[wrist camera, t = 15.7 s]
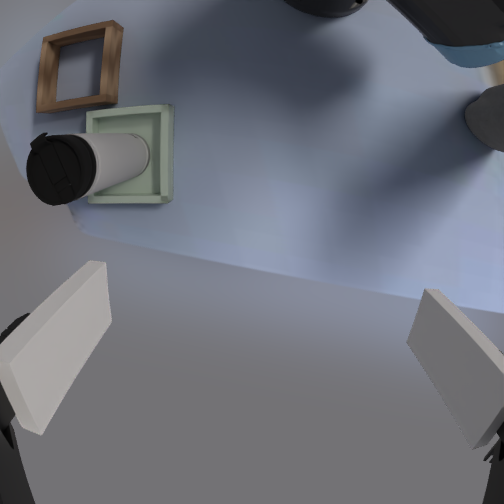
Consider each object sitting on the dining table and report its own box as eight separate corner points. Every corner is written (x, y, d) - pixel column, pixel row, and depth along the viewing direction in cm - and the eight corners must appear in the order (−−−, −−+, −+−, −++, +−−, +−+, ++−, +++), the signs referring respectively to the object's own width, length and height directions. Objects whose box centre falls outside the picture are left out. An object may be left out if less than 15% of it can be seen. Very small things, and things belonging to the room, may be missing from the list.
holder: (56, 42, 35) (43, 37, 31) (123, 27, 35) (113, 19, 32) (50, 113, 39) (36, 112, 35) (117, 103, 39) (105, 101, 36)
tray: (95, 112, 40) (86, 111, 37) (174, 106, 40) (169, 104, 37) (97, 199, 44) (88, 203, 41) (173, 199, 44) (168, 203, 41)
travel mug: (139, 123, 40) (61, 116, 21) (158, 165, 42) (91, 188, 23) (102, 144, 40) (13, 155, 22) (120, 185, 42) (40, 221, 24)
